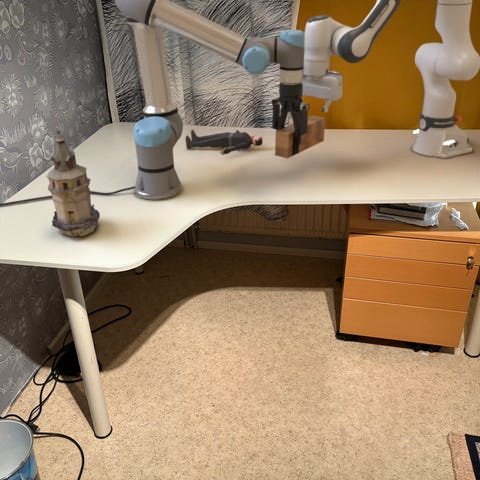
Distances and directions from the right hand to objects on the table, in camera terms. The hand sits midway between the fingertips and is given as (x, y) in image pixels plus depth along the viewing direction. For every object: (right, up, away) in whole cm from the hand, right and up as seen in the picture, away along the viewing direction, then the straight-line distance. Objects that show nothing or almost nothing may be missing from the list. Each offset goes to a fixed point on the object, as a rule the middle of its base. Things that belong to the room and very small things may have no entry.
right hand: (313, 109), depth 185 cm
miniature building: (-72, -42, -29) cm, 89 cm away
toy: (-31, -8, +29) cm, 43 cm away
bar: (-4, -13, +1) cm, 14 cm away
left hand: (-9, -15, -4) cm, 18 cm away
